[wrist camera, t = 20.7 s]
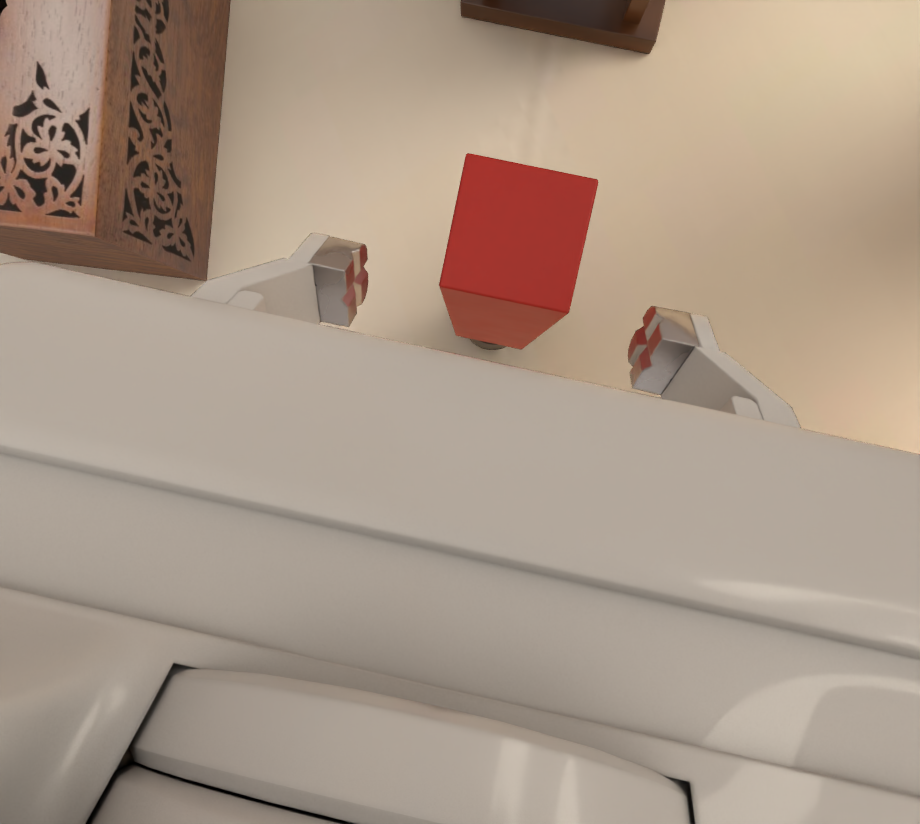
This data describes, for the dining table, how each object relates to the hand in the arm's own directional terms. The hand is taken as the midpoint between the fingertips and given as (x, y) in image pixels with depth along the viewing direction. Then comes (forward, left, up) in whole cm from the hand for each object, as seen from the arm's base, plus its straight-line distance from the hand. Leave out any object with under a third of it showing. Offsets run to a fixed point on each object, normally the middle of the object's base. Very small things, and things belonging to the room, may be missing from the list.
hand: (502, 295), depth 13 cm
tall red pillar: (0, +2, -13) cm, 13 cm away
